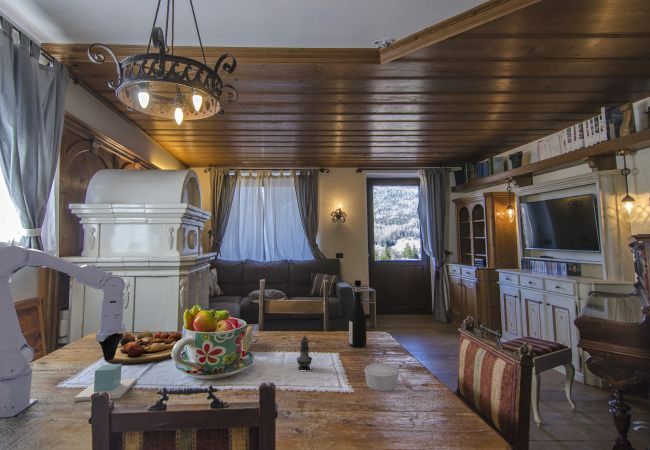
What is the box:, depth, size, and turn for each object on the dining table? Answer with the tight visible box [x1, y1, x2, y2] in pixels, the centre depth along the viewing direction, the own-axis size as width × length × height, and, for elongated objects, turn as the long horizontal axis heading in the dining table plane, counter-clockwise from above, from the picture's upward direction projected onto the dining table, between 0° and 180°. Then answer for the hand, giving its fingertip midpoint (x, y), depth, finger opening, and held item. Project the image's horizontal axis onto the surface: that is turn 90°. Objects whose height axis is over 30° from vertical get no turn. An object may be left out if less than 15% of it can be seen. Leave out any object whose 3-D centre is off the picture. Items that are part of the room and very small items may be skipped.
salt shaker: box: [296, 335, 313, 372], centre depth 119 cm, size 6×6×12 cm
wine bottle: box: [348, 279, 367, 348], centre depth 150 cm, size 8×8×30 cm
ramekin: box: [363, 363, 400, 392], centre depth 105 cm, size 11×11×5 cm
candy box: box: [243, 325, 253, 352], centre depth 143 cm, size 16×2×8 cm, turn 4°
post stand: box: [73, 378, 137, 402], centre depth 99 cm, size 12×12×5 cm
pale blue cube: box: [93, 363, 123, 392], centre depth 99 cm, size 5×5×6 cm
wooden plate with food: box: [107, 329, 182, 364], centre depth 137 cm, size 32×32×8 cm
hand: (109, 359), depth 99 cm, fingers closed
